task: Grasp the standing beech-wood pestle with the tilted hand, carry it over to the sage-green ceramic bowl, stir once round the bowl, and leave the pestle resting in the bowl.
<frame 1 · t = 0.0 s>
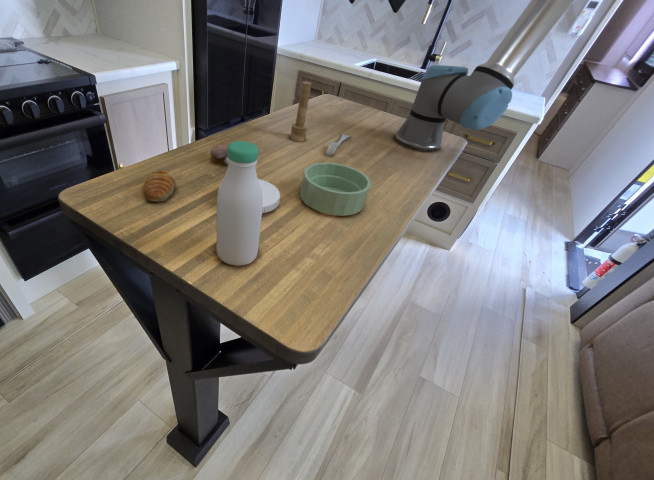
hand: (368, 2, 65), 36 cm above the table, tool tilted 35°, fingers open, 13 cm apart
pestle: (297, 138, 108), on the table
pastry: (161, 193, 76), on the table
milk bottle: (237, 254, 63), on the table
mushroom: (224, 161, 91), on the table
fork: (337, 145, 108), on the table
bowl: (331, 200, 81), on the table
plastic lid: (248, 202, 77), on the table
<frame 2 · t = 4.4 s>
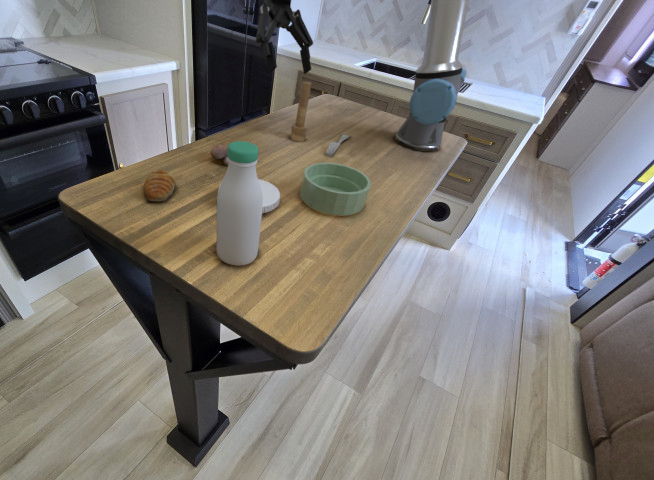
hand: (291, 70, 100), 18 cm above the table, tool tilted 35°, fingers open, 13 cm apart
nothing on the table moved.
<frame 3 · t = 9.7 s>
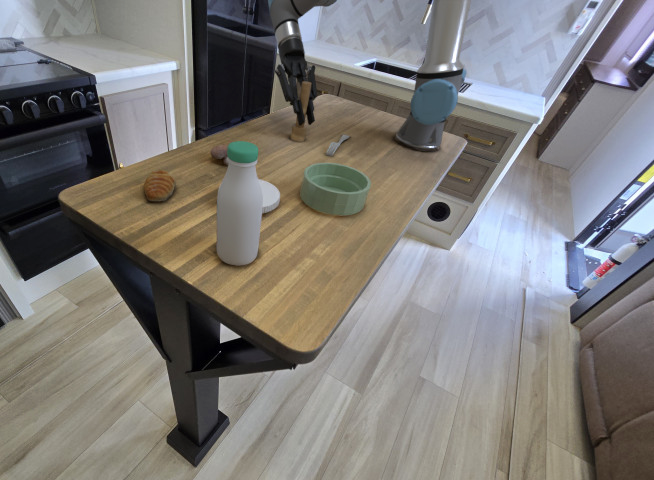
hand: (306, 122, 102), 6 cm above the table, tool tilted 45°, fingers closed on pestle, 3 cm apart
pestle: (297, 138, 108), on the table, touching gripper
everything else where it was.
when the fingers open (7 cm above the table, at t = 24.5 s): pestle stays where it is, resting on bowl.
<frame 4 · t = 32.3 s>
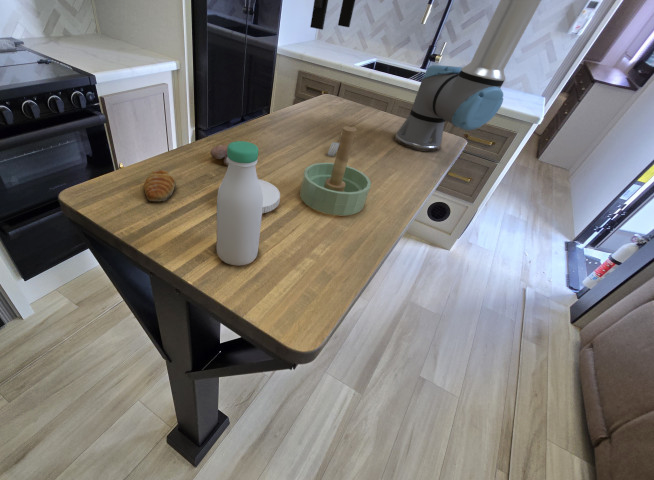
hand: (330, 27, 74), 31 cm above the table, tool pointing down, fingers open, 13 cm apart
pestle: (331, 198, 80), point 1 cm above the table, touching bowl
everything else where it was.
at the end: pestle inside the target area in the bowl (0.1 cm from its centre), point 0.6 cm above the bowl's base; pestle moved 39.6 cm from its start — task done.
